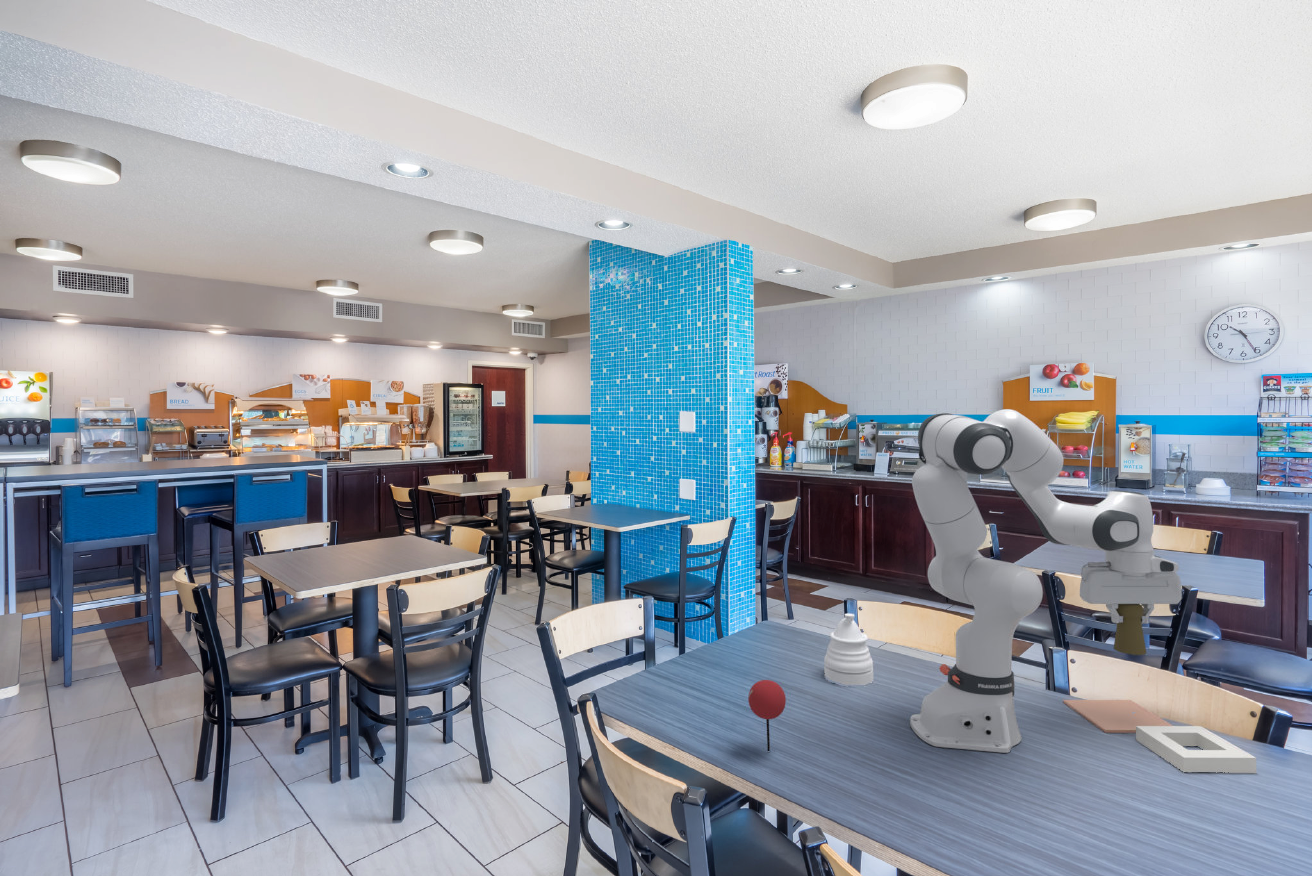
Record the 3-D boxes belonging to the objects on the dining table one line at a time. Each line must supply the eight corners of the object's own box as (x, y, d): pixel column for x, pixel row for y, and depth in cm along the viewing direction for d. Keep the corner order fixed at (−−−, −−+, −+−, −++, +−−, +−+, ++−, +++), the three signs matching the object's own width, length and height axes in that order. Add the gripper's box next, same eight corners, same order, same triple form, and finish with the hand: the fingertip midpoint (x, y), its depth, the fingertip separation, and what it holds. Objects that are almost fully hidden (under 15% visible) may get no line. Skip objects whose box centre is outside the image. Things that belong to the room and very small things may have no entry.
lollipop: (763, 739, 141) (762, 671, 141) (793, 751, 136) (792, 680, 136) (742, 752, 136) (741, 681, 136) (772, 764, 130) (770, 691, 130)
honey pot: (880, 687, 169) (878, 619, 169) (831, 687, 169) (830, 619, 169) (864, 669, 182) (863, 606, 182) (819, 670, 182) (818, 606, 182)
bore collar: (1184, 772, 124) (1183, 757, 124) (1136, 740, 137) (1135, 726, 137) (1256, 773, 123) (1256, 757, 123) (1200, 740, 137) (1200, 726, 137)
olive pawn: (1152, 655, 141) (1151, 606, 141) (1121, 654, 143) (1120, 605, 143) (1138, 646, 147) (1137, 599, 147) (1108, 645, 149) (1107, 598, 148)
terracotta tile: (1105, 732, 141) (1105, 730, 141) (1063, 702, 157) (1062, 699, 157) (1180, 732, 140) (1180, 730, 140) (1130, 702, 156) (1130, 699, 156)
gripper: (1089, 564, 142) (1090, 626, 142) (1186, 564, 141) (1187, 627, 141) (1073, 559, 148) (1074, 618, 148) (1165, 558, 147) (1166, 618, 147)
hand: (1129, 622), depth 145 cm, fingers closed on olive pawn, 4 cm apart
